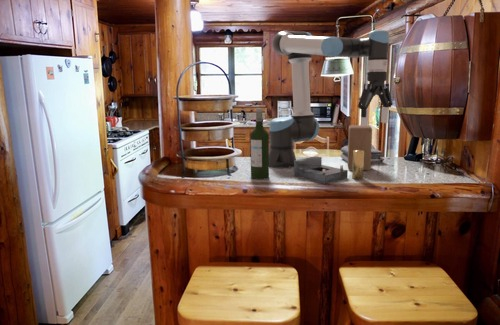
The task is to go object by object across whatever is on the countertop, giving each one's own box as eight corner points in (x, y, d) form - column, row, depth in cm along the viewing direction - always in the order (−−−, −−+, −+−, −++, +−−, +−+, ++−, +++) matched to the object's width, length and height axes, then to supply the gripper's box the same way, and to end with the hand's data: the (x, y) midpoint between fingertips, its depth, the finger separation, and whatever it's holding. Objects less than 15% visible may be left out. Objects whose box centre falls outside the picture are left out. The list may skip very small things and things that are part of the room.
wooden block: (370, 171, 182) (372, 127, 178) (348, 170, 184) (349, 127, 180) (368, 166, 192) (370, 125, 188) (347, 165, 194) (348, 124, 190)
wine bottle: (270, 175, 177) (270, 107, 171) (266, 179, 170) (266, 109, 163) (253, 174, 179) (252, 107, 173) (249, 178, 171) (247, 109, 165)
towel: (339, 159, 211) (339, 144, 209) (372, 157, 213) (373, 143, 212) (349, 165, 196) (350, 149, 195) (385, 163, 198) (385, 148, 197)
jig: (294, 175, 176) (294, 160, 174) (316, 171, 184) (316, 156, 182) (324, 183, 161) (325, 167, 160) (347, 178, 170) (347, 162, 168)
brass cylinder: (350, 178, 170) (351, 150, 167) (356, 176, 172) (357, 149, 170) (358, 180, 166) (359, 152, 164) (365, 178, 169) (366, 150, 166)
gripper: (366, 71, 149) (363, 127, 153) (403, 70, 164) (399, 122, 168) (349, 71, 155) (348, 125, 159) (387, 71, 170) (384, 121, 174)
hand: (374, 124), depth 164 cm, fingers open, 13 cm apart
